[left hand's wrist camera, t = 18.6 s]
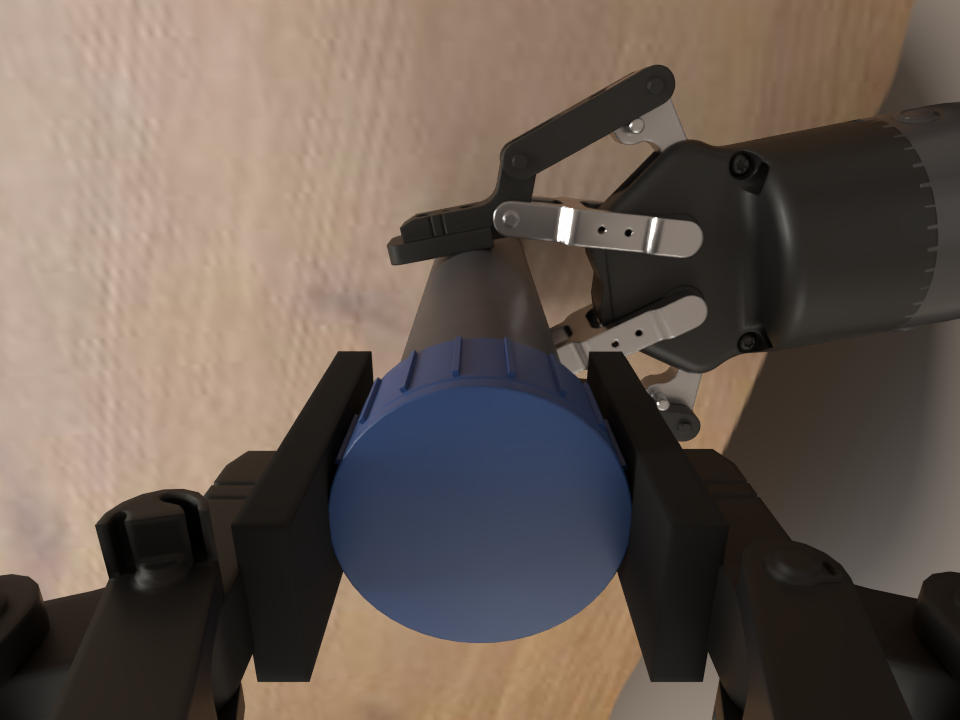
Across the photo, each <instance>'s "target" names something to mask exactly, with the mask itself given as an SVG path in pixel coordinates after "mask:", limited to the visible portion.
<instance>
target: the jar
mask: <svg viewBox="0 0 960 720" xmlns="http://www.w3.org/2000/svg"><path fill="white" fill-rule="evenodd" d="M456 336H462V339H464V338H495V339H503V340H504V339H505V337H510V338H511V341H513V342H518V343H521V344H524V345H527V346H529V347H532V348H535V349H537V350H539V351H541V352H543V353H545V354H547V355H549V354H550V353H552V354H554V355H555V356H556V359H557V361H558V362H560V363H561V361H560V358H559V356H558V353H557V350H556V347H555V344H554V341H553V338H552V335H551V332H550V329H549V326H548V323H547V320H546V317H545V314H544V311H543V308H542V305H541V302H540V299H539V296H538V293H537V290H536V287H535V284H534V281H533V278H532V275H531V272H530V269H529V266H528V263H527V260H526V257H525V254H524V251H523V248H522V245H521V243H520V241H519V239H518V238H513V237H506V238H500V239H495V240H494V247H492V248H487V249H482V250H476V251H469V252H465V253H461V254H455V255H450V256H445V257H439V258H435V260H434V263H433V266H432V269H431V272H430V275H429V278H428V281H427V284H426V287H425V290H424V293H423V296H422V299H421V302H420V305H419V308H418V311H417V314H416V317H415V320H414V323H413V326H412V329H411V332H410V335H409V338H408V341H407V344H406V347H405V350H404V353H403V356H402V359H401V362H402V361H403V360H405V359H406V358H408V357H409V355H410V352H412V351H413V350H416V352H419V351H421V350H423V349H426V348H428V347H430V346H433V345H437V344H440V343H443V342H447V341H452V340H456Z"/></svg>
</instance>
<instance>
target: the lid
mask: <svg viewBox="0 0 960 720" xmlns="http://www.w3.org/2000/svg"><path fill="white" fill-rule="evenodd" d="M335 464H338V467H337V470H336V472H335V476H334V479H333V482H332V485H331V488H330V494H329V500H328V511H329V522H330V531H331V540H332V546H333V549H334V552H335V555H336V558H337V560H338V562H339V564H340V566H341V568H342V570H343V572H344V573H345V575H346V576H347V578H348V579H349V581H350V582H351V584H352V585H353V586H354V587H355V588H356V590H357V591H358V592H359V593H360V594H361V595H362V596H363V597H364V598H365V599H366V600H367V601H368V602H369V603H370V604H371V605H373V606H374V607H375V608H376V609H377V610H379V611H380V612H382V613H383V614H385V615H386V616H388V617H389V618H390V619H392V620H394V621H396V622H398V623H400V624H402V625H403V626H405V627H407V628H410V629H412V630H415V631H417V632H420V633H422V634H426V635H429V636H433V637H436V638H440V639H445V640H451V641H457V642H469V643H494V642H502V641H510V640H515V639H520V638H524V637H528V636H532V635H534V634H537V633H540V632H543V631H546V630H548V629H550V628H552V627H555V626H557V625H559V624H561V623H563V622H565V621H566V620H568V619H569V618H571V617H573V616H574V615H576V614H577V613H579V612H580V611H581V610H583V609H584V608H585V607H586V606H588V605H589V604H590V603H591V602H593V600H594V599H595V598H596V597H597V596H598V595H599V594H600V593H601V592H602V591H603V590H604V589H605V588H606V586H607V585H608V584H609V582H610V581H611V580H612V578H613V577H614V575H615V574H616V572H617V570H618V568H619V566H620V565H621V563H622V561H623V558H624V555H625V553H626V550H627V547H628V543H629V534H630V525H631V515H632V497H631V491H630V488H629V484H628V480H627V477H626V474H625V472H624V470H626V469H628V468H627V465H626V462H625V460H624V457H623V455H622V453H621V450H620V448H619V446H618V444H617V441H616V439H615V437H614V434H613V432H612V430H611V427H610V425H609V423H608V420H607V419H605V420H603V417H602V415H601V413H600V410H599V408H598V405H597V403H596V401H595V398H594V396H593V393H592V391H591V389H590V386H589V384H588V383H587V382H585V383H583V384H582V382H581V381H580V380H579V379H578V378H577V376H575V375H574V374H573V373H572V372H571V371H570V370H569V369H568V368H567V367H565V366H564V365H563V364H561V363H560V362H558V361H557V359H556V356H555V355H554V354H552V353H550V354H549V355H547V354H545V353H543V352H541V351H539V350H537V349H535V348H532V347H529V346H527V345H524V344H521V343H518V342H513V341H511V338H510V337H505V339H504V340H503V339H495V338H464V339H462V336H456V340H452V341H447V342H443V343H440V344H437V345H433V346H430V347H428V348H426V349H423V350H421V351H419V352H416V350H413V351H412V352H410V355H409V357H408V358H406V359H405V360H403V361H402V362H400V363H399V364H398V365H396V366H395V367H394V368H393V369H391V370H390V371H389V372H388V373H387V374H386V375H385V376H384V377H383V378H382V379H380V378H377V379H376V380H375V381H374V384H373V386H372V389H371V391H370V394H369V396H368V398H367V400H366V402H365V404H364V406H363V408H362V410H361V412H360V414H359V415H357V414H355V415H354V417H353V420H352V422H351V424H350V427H349V429H348V431H347V434H346V436H345V438H344V441H343V443H342V445H341V448H340V450H339V452H338V455H337V457H336V460H335Z"/></svg>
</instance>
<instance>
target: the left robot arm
mask: <svg viewBox="0 0 960 720" xmlns="http://www.w3.org/2000/svg"><path fill="white" fill-rule="evenodd" d="M587 383H588V384H589V386H590V389H591V391H592V393H593V396H594V398H595V401H596V403H597V405H598V408H599V410H600V413H601V415H602V417H603V420H605V419H607V420H608V423H609V425H610V427H611V430H612V432H613V434H614V437H615V439H616V441H617V444H618V446H619V448H620V450H621V453H622V455H623V457H624V460H625V462H626V465H627V468H628V469H626V470H624V472H625V474H626V477H627V480H628V484H629V488H630V491H631V497H632V515H631V525H630V534H629V543H628V547H627V550H626V553H625V555H624V558H623V561H622V563H621V565H620V566H619V568H618V570H617V572H618V576H619V579H620V582H621V586H622V589H623V592H624V595H625V599H626V602H627V605H628V609H629V612H630V615H631V618H632V622H633V625H634V628H635V632H636V635H637V638H638V641H639V645H640V648H641V651H642V654H643V658H644V661H645V664H646V668H647V671H648V674H649V677H650V681H651V682H703V678H704V672H705V666H706V660H707V654H708V652H709V655H710V657H711V659H712V662H713V664H714V666H715V669H716V671H717V673H718V676H719V678H720V679H719V684H718V690H717V695H716V701H715V706H714V711H713V717H712V720H960V573H957V572H943V573H936V574H932V575H931V576H929V577H928V578H927V579H926V580H924V581H923V584H922V587H921V590H920V593H919V596H918V599H916V598H911V597H907V596H902V595H897V594H892V593H888V592H883V591H878V590H873V589H869V588H865V587H862V586H858V585H854V584H853V582H852V579H851V578H850V576H849V575H848V573H847V572H846V571H845V569H844V568H843V567H842V565H841V564H839V563H838V562H837V561H835V560H834V559H833V558H831V557H830V556H829V555H827V554H826V553H824V552H822V551H820V550H818V549H815V548H813V547H811V546H809V545H807V544H803V543H799V542H795V541H792V540H791V539H790V537H789V536H788V535H787V533H786V532H785V531H784V529H783V528H782V527H781V525H780V524H779V523H778V521H777V520H776V519H775V517H774V516H773V515H772V513H771V512H770V511H769V509H768V508H767V507H766V505H765V504H764V502H763V501H762V500H761V498H759V497H757V493H756V492H755V490H754V489H753V488H752V486H751V485H750V484H749V483H747V480H746V478H745V477H744V476H743V474H742V473H741V472H740V470H739V469H738V468H737V466H736V465H735V464H734V463H733V462H731V461H730V460H728V459H727V458H725V457H724V456H722V455H721V454H719V453H718V452H716V451H715V450H713V449H682V447H681V446H680V444H679V443H678V441H677V439H676V438H675V436H674V434H673V433H672V431H671V430H670V428H669V426H668V425H667V423H666V422H665V420H664V418H663V417H662V415H661V414H660V412H659V410H658V409H657V407H656V405H655V404H654V402H653V401H652V399H651V397H650V396H649V394H648V393H647V391H646V389H645V388H644V386H643V384H642V383H641V381H640V380H639V378H638V376H637V375H636V373H635V372H634V370H633V368H632V367H631V365H630V364H629V362H628V360H627V359H626V357H625V355H624V354H623V352H622V351H589V358H588V373H587ZM373 384H374V383H373V368H372V353H371V351H338V353H337V354H336V356H335V358H334V359H333V361H332V363H331V364H330V366H329V367H328V369H327V371H326V372H325V374H324V375H323V377H322V379H321V380H320V382H319V383H318V385H317V387H316V388H315V390H314V392H313V393H312V395H311V396H310V398H309V400H308V401H307V403H306V404H305V406H304V408H303V409H302V411H301V413H300V414H299V416H298V417H297V419H296V421H295V422H294V424H293V425H292V427H291V429H290V430H289V432H288V434H287V435H286V437H285V438H284V440H283V442H282V443H281V445H280V446H279V448H278V450H277V451H247V452H246V453H244V454H243V455H241V456H240V457H238V458H237V459H235V460H234V461H232V462H231V463H229V464H228V465H226V467H225V468H224V469H223V471H222V472H221V473H220V475H219V476H218V477H217V479H216V480H215V481H214V485H212V486H211V487H210V488H209V490H208V491H207V492H206V494H205V495H204V496H202V495H201V494H200V493H199V492H195V491H190V490H186V489H165V490H159V491H155V492H150V493H146V494H142V495H139V496H137V497H134V498H132V499H129V500H127V501H124V502H122V503H120V504H119V505H117V506H116V507H114V508H113V509H111V510H110V511H108V512H106V513H105V514H104V515H103V517H102V518H101V519H100V520H99V521H98V522H97V524H96V525H95V527H96V531H97V535H98V538H99V542H100V546H101V550H102V554H103V557H104V561H105V565H106V569H107V572H108V576H109V581H108V583H107V585H106V587H105V588H101V589H98V590H94V591H90V592H85V593H81V594H76V595H71V596H66V597H62V598H57V599H52V600H48V601H43V598H42V595H41V592H40V589H39V585H38V584H37V583H36V582H35V581H34V580H32V579H31V578H30V577H28V576H21V575H14V574H9V575H1V576H0V720H244V712H245V703H244V696H243V690H242V684H241V680H242V677H243V675H244V673H245V670H246V668H247V666H248V663H249V661H250V659H251V656H252V654H253V658H254V664H255V670H256V675H257V681H258V682H310V679H311V675H312V672H313V669H314V666H315V662H316V659H317V656H318V652H319V649H320V646H321V643H322V639H323V636H324V633H325V629H326V626H327V623H328V620H329V616H330V613H331V610H332V606H333V603H334V600H335V597H336V593H337V590H338V587H339V584H340V580H341V577H342V574H343V570H342V568H341V566H340V564H339V562H338V560H337V558H336V555H335V552H334V549H333V546H332V540H331V531H330V522H329V511H328V500H329V494H330V488H331V485H332V482H333V479H334V476H335V472H336V470H337V467H338V464H335V460H336V457H337V455H338V452H339V450H340V448H341V445H342V443H343V441H344V438H345V436H346V434H347V431H348V429H349V427H350V424H351V422H352V420H353V417H354V415H355V414H357V415H359V414H360V412H361V410H362V408H363V406H364V404H365V402H366V400H367V398H368V396H369V394H370V391H371V389H372V386H373Z"/></svg>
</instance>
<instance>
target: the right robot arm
mask: <svg viewBox="0 0 960 720" xmlns="http://www.w3.org/2000/svg"><path fill="white" fill-rule="evenodd" d="M674 89H675V79H674V76H673V74H672V72H671V71H670V70H669V69H668V68H667V67H665V66H662V65H653V66H650V67H646V68H643V69H640V70H638V71H635V72H632V73H630V74H628V75H627V76H625V77H623V78H621V79H620V80H618V81H616V82H614V83H612V84H611V85H609V86H607V87H605V88H604V89H602V90H600V91H598V92H596V93H595V94H593V95H591V96H589V97H588V98H586V99H584V100H582V101H581V102H579V103H577V104H575V105H573V106H572V107H570V108H568V109H566V110H565V111H563V112H561V113H559V114H557V115H556V116H554V117H552V118H550V119H549V120H547V121H545V122H543V123H542V124H540V125H538V126H536V127H534V128H533V129H531V130H529V131H527V132H526V133H524V134H522V135H520V136H518V137H517V138H515V139H513V140H511V141H510V142H508V143H507V144H505V145H504V147H503V148H502V150H501V153H500V166H499V172H498V178H497V184H496V188H495V190H494V192H493V193H492V194H491V196H490V197H488V198H487V199H485V200H483V201H481V202H476V203H471V204H466V205H461V206H456V207H450V208H445V209H440V210H435V211H430V212H425V213H420V214H416V215H414V216H413V217H411V218H410V219H408V220H407V221H405V222H404V223H403V225H402V226H401V227H400V231H401V236H397V237H394V238H392V239H391V240H390V242H389V243H388V244H387V248H388V252H389V256H390V261H391V264H392V265H402V264H408V263H413V262H418V261H424V260H429V259H434V258H439V257H445V256H450V255H455V254H461V253H465V252H469V251H476V250H482V249H487V248H492V247H494V240H495V239H500V238H506V237H513V238H523V239H533V240H544V241H554V242H559V243H562V244H566V245H571V246H579V247H585V250H586V254H587V256H588V259H589V261H590V264H591V266H592V268H593V271H594V275H593V282H592V289H591V296H592V304H590V305H588V306H586V307H584V308H582V309H580V310H578V311H576V312H574V313H572V314H570V315H569V316H568V317H567V318H566V319H565V320H564V321H563V322H562V323H560V324H558V325H556V326H554V327H552V328H549V329H550V332H551V335H552V338H553V341H554V344H555V347H556V350H557V353H558V356H559V358H560V361H561V364H563V365H564V366H565V367H567V368H568V369H569V370H570V371H571V372H572V373H573V374H576V373H578V372H580V371H582V370H588V358H589V351H622V352H623V354H624V355H625V357H626V356H628V355H630V354H632V353H635V352H637V351H640V352H642V353H644V354H646V355H649V356H651V357H653V358H655V359H657V360H659V361H662V362H664V363H666V364H668V365H670V367H669V369H668V370H667V371H665V372H663V373H661V374H657V375H648V376H646V377H644V378H643V379H642V380H641V383H642V384H643V386H644V388H645V389H646V391H647V393H648V394H649V396H650V397H651V399H652V401H653V402H654V404H655V405H656V407H657V409H658V410H659V412H660V414H661V415H662V417H663V418H664V420H665V422H666V423H667V425H668V426H669V428H670V430H671V431H672V433H673V434H674V436H675V438H676V439H677V441H689V440H691V439H693V438H694V437H695V436H696V435H697V434H698V433H699V430H700V421H699V419H698V418H697V417H696V415H695V414H694V413H693V406H694V403H695V399H696V395H697V391H698V387H699V384H700V380H701V376H702V373H706V372H708V371H711V370H713V369H715V368H716V367H718V366H719V365H720V364H722V363H723V362H725V361H726V360H728V359H730V358H732V357H734V356H737V355H740V354H744V353H755V352H770V351H777V350H783V349H789V348H794V347H800V346H806V345H811V344H817V343H823V342H828V341H834V340H840V339H846V338H851V337H858V336H864V335H869V334H875V333H881V332H887V331H909V330H914V329H917V328H919V327H922V326H924V325H927V324H932V323H938V322H944V321H949V320H954V319H959V318H960V102H954V103H943V104H937V105H930V106H925V107H919V108H914V109H906V110H902V111H899V112H894V113H889V114H885V115H879V116H874V117H869V118H864V119H858V120H853V121H848V122H843V123H838V124H833V125H828V126H823V127H817V128H812V129H807V130H802V131H797V132H792V133H787V134H782V135H777V136H772V137H767V138H762V139H756V140H751V141H746V142H741V143H736V144H731V145H725V146H712V145H709V144H706V143H704V142H701V141H698V140H688V139H687V138H686V135H685V133H684V130H683V128H682V125H681V123H680V120H679V117H678V115H677V112H676V110H675V107H674V105H673V102H672V100H671V96H672V94H673V92H674ZM608 134H610V135H611V137H612V138H613V139H614V140H615V141H616V142H618V143H621V144H628V145H633V144H637V143H640V142H644V141H645V142H647V143H649V144H650V145H651V146H652V147H653V149H654V152H653V153H652V154H651V155H650V156H649V157H648V158H647V159H646V160H645V161H644V162H643V163H642V164H641V165H640V166H639V167H638V168H637V169H636V170H635V171H634V172H633V173H632V174H631V175H630V176H629V177H628V178H627V179H626V180H625V181H624V182H623V183H622V184H621V185H620V187H619V188H618V189H617V190H616V191H615V192H614V193H613V194H612V195H611V196H610V197H609V198H608V199H607V200H606V201H605V202H604V201H594V200H584V199H574V198H563V197H557V198H551V197H541V196H532V193H533V188H534V183H535V177H536V174H537V173H539V172H541V171H543V170H544V169H546V168H548V167H550V166H552V165H554V164H555V163H557V162H559V161H561V160H563V159H564V158H566V157H568V156H570V155H572V154H574V153H575V152H577V151H579V150H581V149H583V148H584V147H586V146H588V145H590V144H592V143H594V142H595V141H597V140H599V139H601V138H603V137H604V136H606V135H608ZM614 341H615V342H614ZM613 342H614V343H613ZM578 379H579V380H580V381H581V382H582V384H583V383H585V382H587V379H581V378H578Z"/></svg>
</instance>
